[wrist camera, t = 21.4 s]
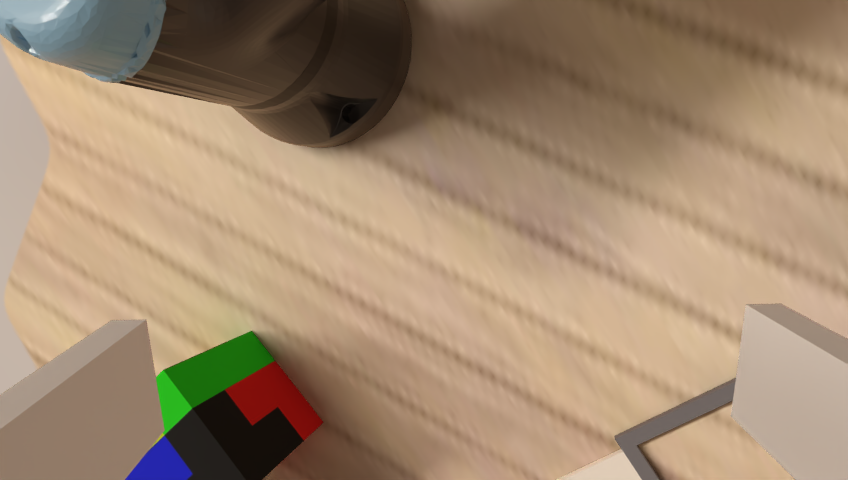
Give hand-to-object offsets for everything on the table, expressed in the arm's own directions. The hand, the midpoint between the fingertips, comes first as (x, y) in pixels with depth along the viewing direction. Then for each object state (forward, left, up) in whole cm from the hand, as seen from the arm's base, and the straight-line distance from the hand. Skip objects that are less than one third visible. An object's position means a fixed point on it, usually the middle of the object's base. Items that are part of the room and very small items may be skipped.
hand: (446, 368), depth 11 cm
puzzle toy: (-21, -20, -27) cm, 40 cm away
